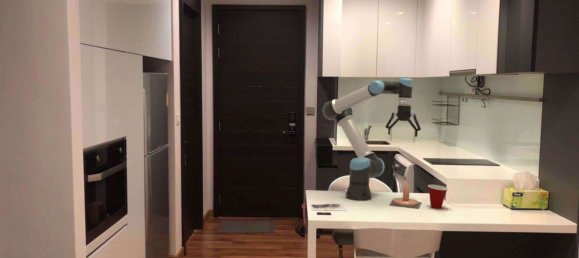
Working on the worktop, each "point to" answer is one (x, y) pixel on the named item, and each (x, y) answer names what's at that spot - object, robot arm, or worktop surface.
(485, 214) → the worktop surface
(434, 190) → the plastic cup
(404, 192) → the lid
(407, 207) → the mat
